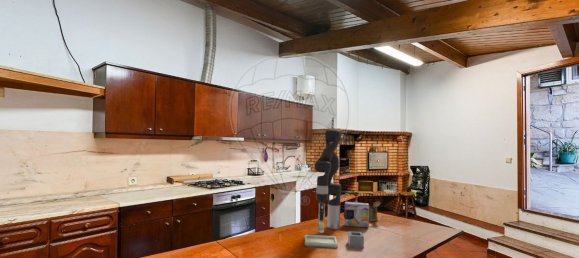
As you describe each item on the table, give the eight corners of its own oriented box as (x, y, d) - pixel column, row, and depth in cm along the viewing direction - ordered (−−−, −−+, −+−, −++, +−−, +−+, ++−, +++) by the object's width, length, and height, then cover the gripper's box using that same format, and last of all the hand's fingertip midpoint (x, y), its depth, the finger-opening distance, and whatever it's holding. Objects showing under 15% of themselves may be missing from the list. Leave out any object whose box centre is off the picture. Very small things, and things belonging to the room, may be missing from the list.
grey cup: (347, 242, 191) (348, 231, 192) (361, 243, 191) (361, 232, 191) (349, 247, 183) (349, 235, 183) (363, 247, 182) (363, 236, 182)
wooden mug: (372, 223, 237) (373, 200, 238) (364, 218, 251) (365, 197, 251) (382, 223, 239) (383, 200, 240) (374, 218, 253) (374, 197, 253)
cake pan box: (343, 225, 230) (343, 202, 230) (343, 223, 234) (344, 201, 235) (368, 228, 224) (369, 204, 225) (368, 226, 229) (369, 203, 229)
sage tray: (305, 238, 196) (305, 234, 196) (335, 240, 195) (335, 236, 195) (304, 246, 182) (304, 242, 182) (337, 248, 181) (337, 243, 181)
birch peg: (317, 230, 191) (318, 210, 191) (323, 230, 190) (324, 210, 191) (317, 232, 187) (318, 211, 187) (324, 232, 186) (324, 211, 187)
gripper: (316, 190, 197) (315, 216, 196) (316, 194, 182) (315, 222, 182) (327, 190, 196) (326, 216, 196) (328, 194, 182) (327, 222, 181)
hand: (321, 219), depth 189 cm, fingers closed on birch peg, 4 cm apart
